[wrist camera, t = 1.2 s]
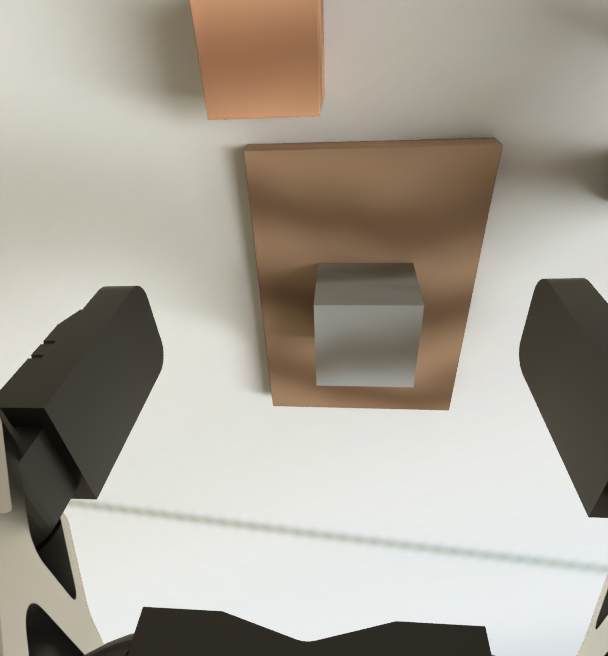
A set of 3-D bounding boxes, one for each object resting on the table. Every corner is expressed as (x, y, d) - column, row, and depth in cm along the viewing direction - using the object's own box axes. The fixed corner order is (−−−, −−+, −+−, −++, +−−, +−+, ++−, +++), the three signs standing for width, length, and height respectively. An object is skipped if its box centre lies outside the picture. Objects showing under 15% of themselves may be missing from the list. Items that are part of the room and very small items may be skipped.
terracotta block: (221, -16, 22) (186, -20, 18) (322, -21, 22) (315, -28, 17) (234, 97, 25) (208, 119, 20) (324, 94, 25) (318, 116, 20)
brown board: (248, 144, 27) (224, 179, 21) (494, 138, 25) (533, 173, 20) (275, 393, 38) (264, 455, 33) (445, 396, 37) (461, 462, 32)
